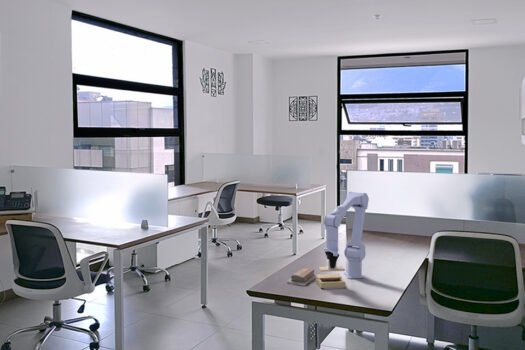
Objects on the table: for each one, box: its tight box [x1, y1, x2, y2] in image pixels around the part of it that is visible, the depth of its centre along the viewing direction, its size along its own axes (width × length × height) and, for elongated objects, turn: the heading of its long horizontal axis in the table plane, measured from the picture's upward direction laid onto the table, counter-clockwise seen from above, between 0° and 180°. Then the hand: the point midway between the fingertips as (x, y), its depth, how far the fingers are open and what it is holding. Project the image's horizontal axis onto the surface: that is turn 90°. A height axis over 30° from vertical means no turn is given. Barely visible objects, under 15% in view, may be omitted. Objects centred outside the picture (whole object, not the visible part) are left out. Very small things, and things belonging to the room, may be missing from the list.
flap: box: [318, 258, 346, 272], centre depth 246 cm, size 6×12×5 cm, turn 96°
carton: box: [315, 273, 346, 289], centre depth 250 cm, size 12×12×4 cm
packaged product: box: [286, 267, 317, 287], centre depth 258 cm, size 18×5×10 cm
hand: (331, 266), depth 246 cm, fingers closed on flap, 3 cm apart
